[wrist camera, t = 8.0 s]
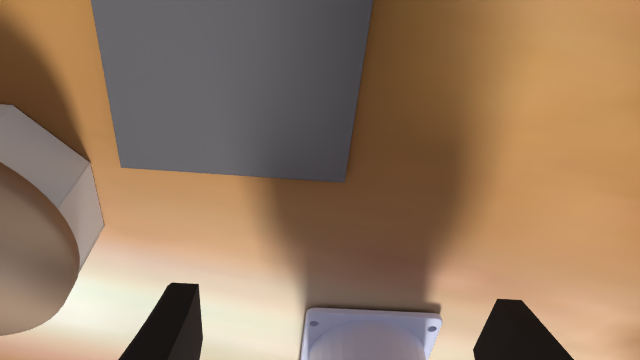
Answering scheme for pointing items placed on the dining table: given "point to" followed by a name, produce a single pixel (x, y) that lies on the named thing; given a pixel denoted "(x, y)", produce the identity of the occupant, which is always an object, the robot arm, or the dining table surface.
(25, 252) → the lid
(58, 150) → the bowl
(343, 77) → the mat
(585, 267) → the dining table surface
